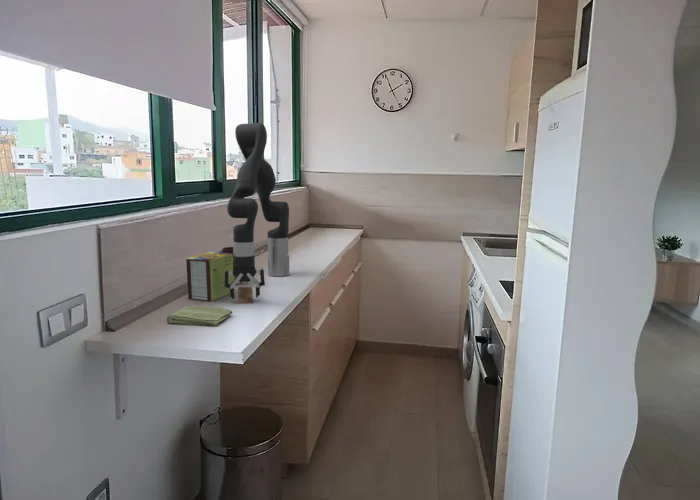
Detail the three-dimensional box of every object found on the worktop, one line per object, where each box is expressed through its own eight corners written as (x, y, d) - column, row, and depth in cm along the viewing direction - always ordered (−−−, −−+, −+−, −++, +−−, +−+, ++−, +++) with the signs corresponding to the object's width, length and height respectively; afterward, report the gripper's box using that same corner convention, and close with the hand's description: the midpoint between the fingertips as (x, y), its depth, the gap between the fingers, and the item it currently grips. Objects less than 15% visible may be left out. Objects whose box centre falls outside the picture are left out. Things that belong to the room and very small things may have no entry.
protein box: (234, 292, 196) (233, 253, 193) (211, 301, 181) (209, 260, 179) (211, 289, 199) (210, 251, 196) (187, 299, 185) (185, 258, 182)
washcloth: (218, 328, 153) (217, 318, 153) (164, 325, 156) (164, 315, 155) (234, 316, 166) (233, 306, 166) (184, 313, 169) (184, 304, 168)
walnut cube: (251, 299, 185) (251, 286, 184) (252, 303, 180) (252, 289, 180) (238, 300, 184) (237, 287, 183) (238, 304, 179) (238, 290, 178)
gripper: (263, 251, 184) (263, 294, 187) (223, 252, 181) (224, 296, 184) (264, 255, 177) (265, 299, 180) (223, 256, 174) (225, 301, 176)
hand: (245, 297), depth 182 cm, fingers open, 8 cm apart
